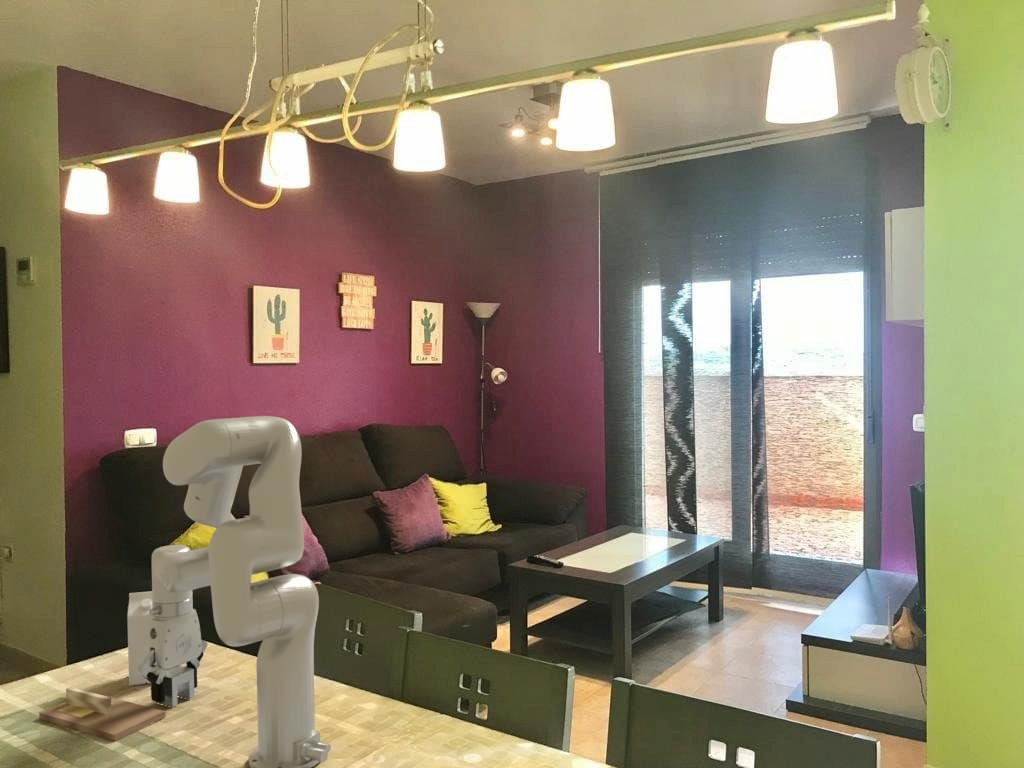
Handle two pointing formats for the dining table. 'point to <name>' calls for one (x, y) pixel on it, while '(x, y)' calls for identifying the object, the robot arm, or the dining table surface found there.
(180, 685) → the notched grey block
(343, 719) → the dining table surface
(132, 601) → the milk carton
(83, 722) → the rail board
